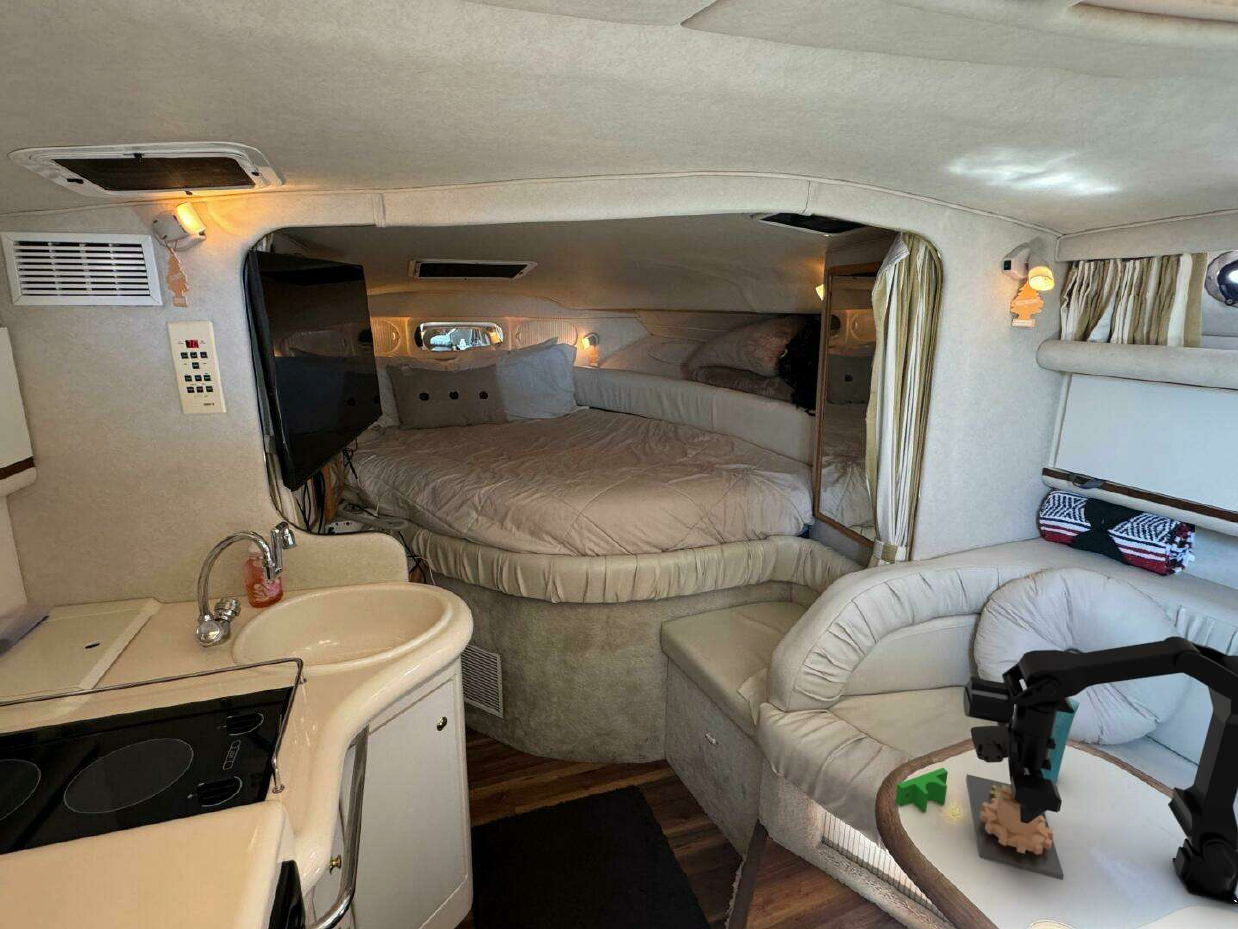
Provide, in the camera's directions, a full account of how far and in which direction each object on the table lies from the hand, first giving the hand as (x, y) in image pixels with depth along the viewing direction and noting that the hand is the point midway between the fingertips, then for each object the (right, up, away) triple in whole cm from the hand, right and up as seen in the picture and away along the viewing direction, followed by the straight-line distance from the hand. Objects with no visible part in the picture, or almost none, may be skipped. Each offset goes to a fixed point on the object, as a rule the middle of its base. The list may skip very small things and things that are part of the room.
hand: (1018, 801), depth 108 cm
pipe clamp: (-11, -6, +10) cm, 16 cm away
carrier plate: (+1, -7, +5) cm, 8 cm away
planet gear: (0, -5, +1) cm, 6 cm away
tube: (+15, -3, +16) cm, 22 cm away
